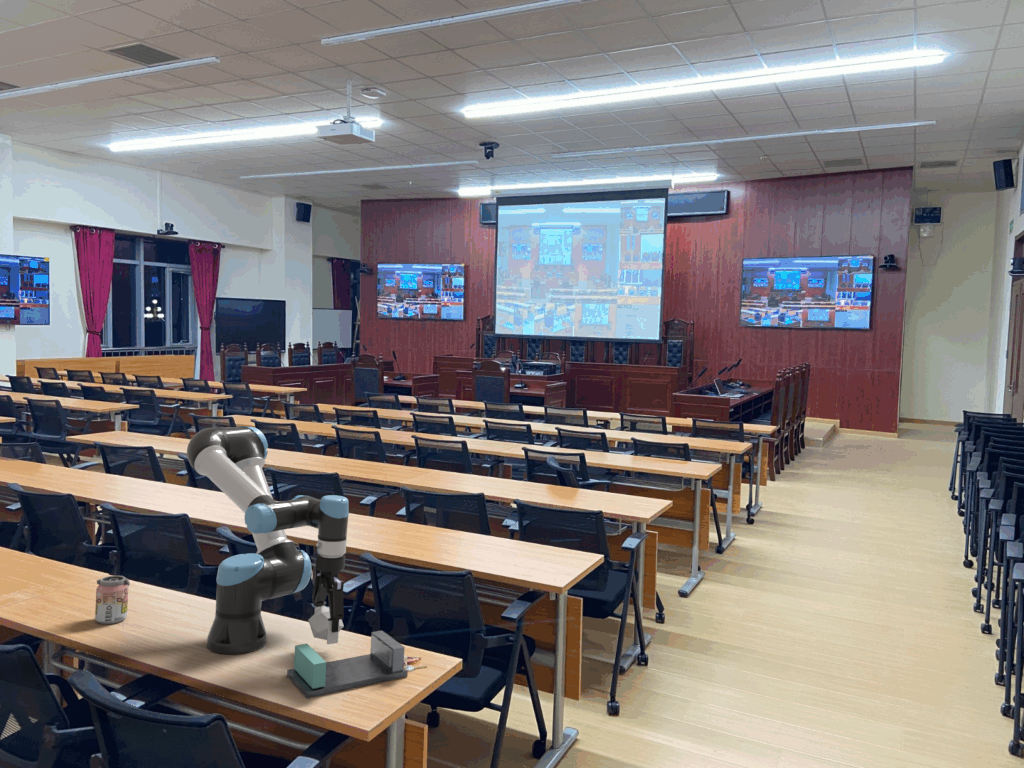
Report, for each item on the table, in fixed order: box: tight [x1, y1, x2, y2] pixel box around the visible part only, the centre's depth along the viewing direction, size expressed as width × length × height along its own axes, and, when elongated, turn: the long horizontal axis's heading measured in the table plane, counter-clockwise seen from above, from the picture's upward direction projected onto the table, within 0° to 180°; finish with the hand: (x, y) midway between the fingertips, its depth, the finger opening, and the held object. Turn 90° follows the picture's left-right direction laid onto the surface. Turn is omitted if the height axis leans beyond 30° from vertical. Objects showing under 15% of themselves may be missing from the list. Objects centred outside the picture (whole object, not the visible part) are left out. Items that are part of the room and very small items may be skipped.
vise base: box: [286, 630, 409, 699], centre depth 184 cm, size 14×26×8 cm, turn 125°
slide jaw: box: [293, 643, 327, 689], centre depth 178 cm, size 13×3×6 cm, turn 35°
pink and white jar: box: [94, 575, 131, 625], centre depth 213 cm, size 9×8×12 cm
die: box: [307, 605, 345, 641], centre depth 199 cm, size 8×9×10 cm
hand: (325, 636), depth 199 cm, fingers closed on die, 9 cm apart
